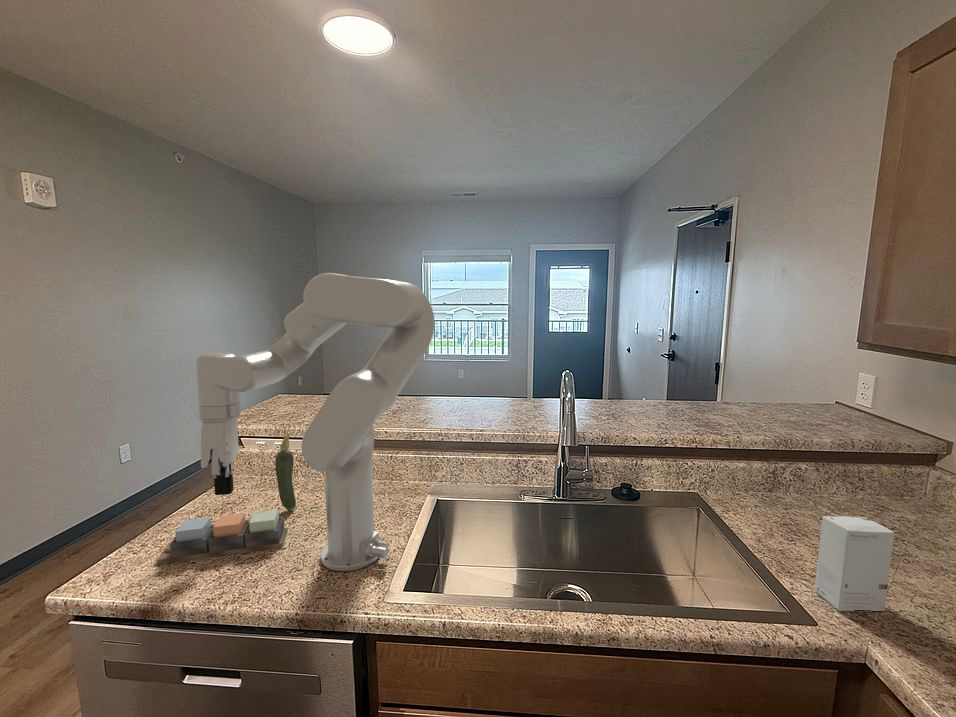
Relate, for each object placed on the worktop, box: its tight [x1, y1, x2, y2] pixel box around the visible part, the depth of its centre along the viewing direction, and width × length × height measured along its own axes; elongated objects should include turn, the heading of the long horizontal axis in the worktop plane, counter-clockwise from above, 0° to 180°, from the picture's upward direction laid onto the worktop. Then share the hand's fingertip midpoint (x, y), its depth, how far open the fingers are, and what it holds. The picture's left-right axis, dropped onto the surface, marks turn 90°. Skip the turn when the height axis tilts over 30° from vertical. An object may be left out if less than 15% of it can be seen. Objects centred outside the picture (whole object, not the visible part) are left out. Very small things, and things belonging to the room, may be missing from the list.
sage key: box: [249, 509, 280, 533], centre depth 97 cm, size 5×5×4 cm
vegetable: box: [274, 434, 297, 511], centre depth 111 cm, size 4×4×20 cm
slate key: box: [174, 516, 212, 542], centre depth 94 cm, size 5×5×4 cm
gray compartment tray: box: [155, 515, 289, 565], centre depth 95 cm, size 24×7×4 cm, turn 105°
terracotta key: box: [213, 513, 247, 538], centre depth 95 cm, size 5×5×4 cm
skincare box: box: [814, 515, 895, 612], centre depth 77 cm, size 8×6×15 cm
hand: (224, 492), depth 94 cm, fingers closed
